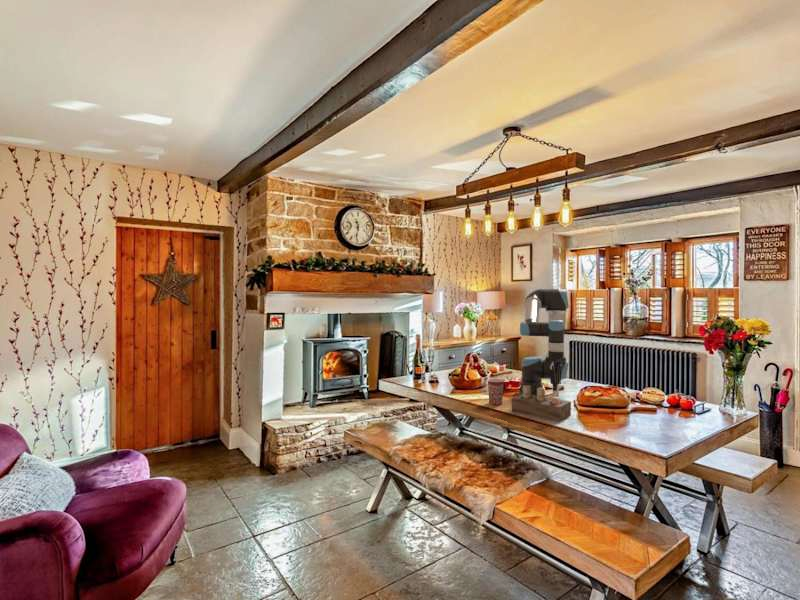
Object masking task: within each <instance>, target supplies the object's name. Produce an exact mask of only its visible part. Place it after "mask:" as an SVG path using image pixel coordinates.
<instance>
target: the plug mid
mask: <svg viewBox="0 0 800 600" xmlns="http://www.w3.org/2000/svg"><path fill="white" fill-rule="evenodd" d="M545 397H546V388H545V387H543V388H537V401H542V402H544V401H545Z"/></svg>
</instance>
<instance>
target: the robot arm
mask: <svg viewBox="0 0 800 600" xmlns="http://www.w3.org/2000/svg"><path fill="white" fill-rule="evenodd" d="M524 307H525V313H524V321H521V322H520V323H519V324H520V325H519V335H521V336H524V337H546V338H547V337H548V339H547V341H548V343H547V351H548V352H547V354H546V355H545V358H544V359H543V357H542V356H540V355H539V356H538V355H537V356H536V355H535V356H532V355H531V356H527V357H524V358H523V359H522V360H521V383H520V387H519V388H518V396H519V395H522V394H523V386H531V393H530V395H535V396H537V388H544V385H543V383H542V379H543V380H544V379H545V380H550V384H551V385H552V398H553V397H556V398H560V385H561V384H562V381H563V380H566V379H567V376H568V371H569V360H568V359H567V356H566V355H565V352H564V351H565V322H564V314H566V312H567V309H569V307H570V306H569V298H568V292H567V290H566V289H563V288H562V289H561V288H547V289H546V288H545V289H544V288H543V289H542V288H540V289H536V290H534V291H532V292H531V293H528V295H527V296H526V297H525V299H524ZM540 309H545V312H546V313H547V316H548V322H544V321H541V322H540Z"/></svg>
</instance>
